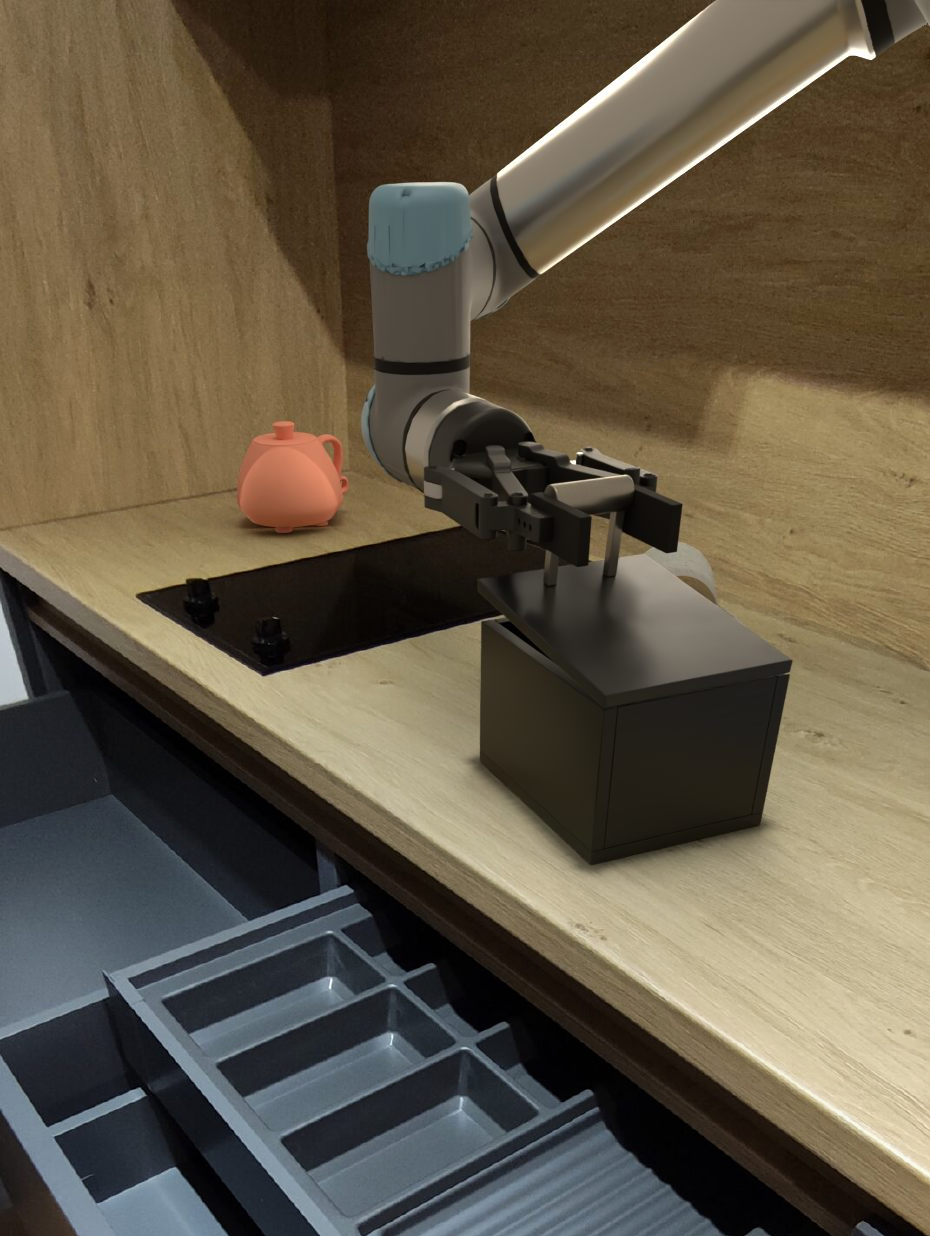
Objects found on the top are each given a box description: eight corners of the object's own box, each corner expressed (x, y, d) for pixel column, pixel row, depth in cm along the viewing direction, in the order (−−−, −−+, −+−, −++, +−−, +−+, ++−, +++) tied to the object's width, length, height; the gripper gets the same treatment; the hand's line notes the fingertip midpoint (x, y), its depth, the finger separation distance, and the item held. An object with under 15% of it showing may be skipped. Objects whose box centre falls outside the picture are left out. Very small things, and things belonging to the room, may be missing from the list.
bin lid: (476, 590, 74) (481, 478, 69) (642, 564, 78) (658, 456, 73) (603, 708, 63) (620, 586, 58) (790, 672, 67) (821, 554, 62)
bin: (479, 760, 81) (480, 620, 75) (630, 730, 85) (645, 593, 78) (590, 865, 70) (603, 710, 63) (760, 824, 73) (790, 673, 67)
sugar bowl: (223, 519, 132) (210, 420, 125) (325, 501, 138) (318, 405, 131) (270, 543, 124) (259, 438, 117) (376, 522, 130) (371, 421, 123)
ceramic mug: (627, 663, 95) (639, 567, 90) (620, 630, 101) (631, 539, 96) (752, 666, 94) (771, 570, 89) (737, 633, 100) (754, 541, 95)
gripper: (578, 499, 88) (748, 580, 72) (359, 528, 83) (490, 622, 67) (585, 388, 83) (769, 448, 67) (353, 412, 78) (492, 483, 62)
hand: (629, 535), depth 67 cm, fingers closed on bin lid, 5 cm apart
